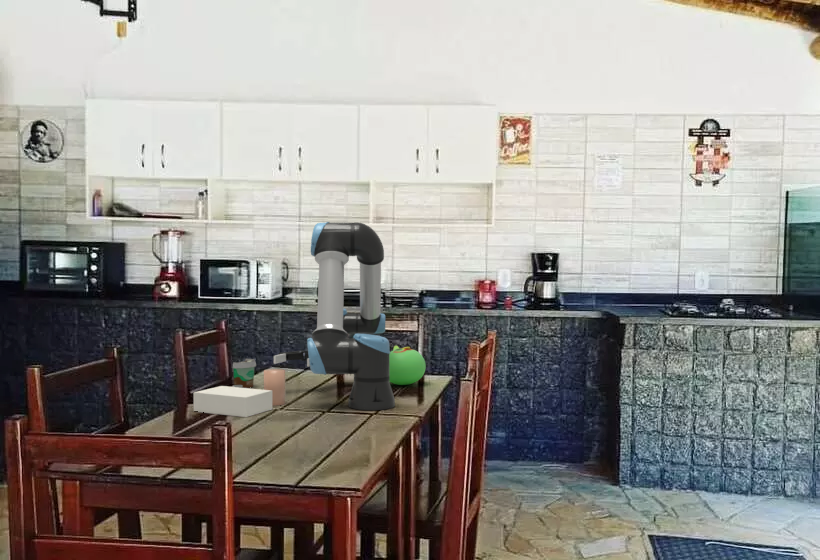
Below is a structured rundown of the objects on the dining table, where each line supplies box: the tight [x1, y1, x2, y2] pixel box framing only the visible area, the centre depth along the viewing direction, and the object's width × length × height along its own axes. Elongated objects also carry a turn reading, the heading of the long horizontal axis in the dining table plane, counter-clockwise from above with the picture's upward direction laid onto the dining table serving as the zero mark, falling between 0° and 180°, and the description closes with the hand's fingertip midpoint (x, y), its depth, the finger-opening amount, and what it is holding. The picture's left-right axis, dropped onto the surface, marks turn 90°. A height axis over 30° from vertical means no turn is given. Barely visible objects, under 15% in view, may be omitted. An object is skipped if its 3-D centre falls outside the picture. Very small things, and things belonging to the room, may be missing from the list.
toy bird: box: [389, 345, 427, 386], centre depth 314 cm, size 18×17×15 cm
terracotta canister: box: [263, 368, 286, 407], centre depth 274 cm, size 7×7×11 cm
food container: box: [232, 358, 257, 389], centre depth 305 cm, size 12×6×10 cm, turn 168°
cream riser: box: [193, 385, 273, 418], centre depth 262 cm, size 20×14×6 cm
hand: (291, 361), depth 283 cm, fingers open, 13 cm apart
